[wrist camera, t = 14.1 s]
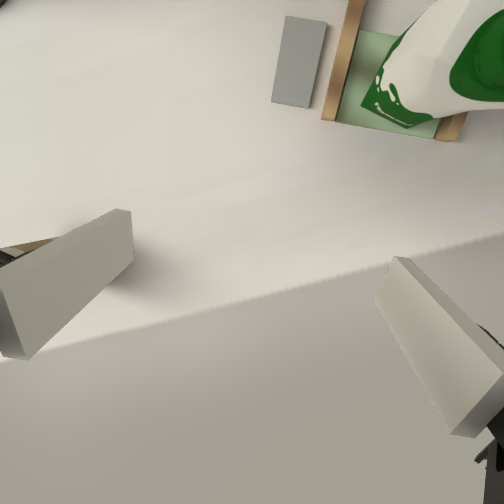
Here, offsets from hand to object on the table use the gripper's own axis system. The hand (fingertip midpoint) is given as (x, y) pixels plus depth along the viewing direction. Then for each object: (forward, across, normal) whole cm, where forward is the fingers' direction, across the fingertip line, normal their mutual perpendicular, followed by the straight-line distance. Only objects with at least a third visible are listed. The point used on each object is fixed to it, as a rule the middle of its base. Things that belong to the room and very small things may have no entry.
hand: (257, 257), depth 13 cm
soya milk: (+28, +14, +13) cm, 34 cm away
